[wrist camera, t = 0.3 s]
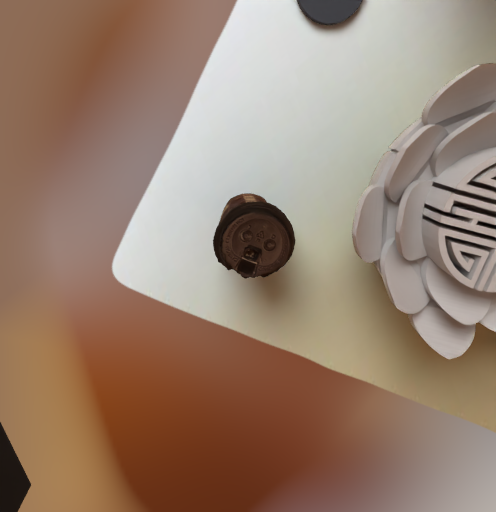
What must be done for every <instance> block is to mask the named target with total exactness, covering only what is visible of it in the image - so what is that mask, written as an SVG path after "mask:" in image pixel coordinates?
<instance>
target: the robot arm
mask: <svg viewBox="0 0 496 512" xmlns="http://www.w3.org/2000/svg"><path fill="white" fill-rule="evenodd" d="M30 486H31V483H30V481H29V479H28V478H27V475H26V473H25V471H24V469H23V467H22V465H21V463H20V461H19V459H18V457H17V455H16V453H15V451H14V449H13V447H12V445H11V443H10V441H9V439H8V437H7V435H6V433H5V431H4V429H3V427H2V425H1V423H0V512H18V510H19V508H20V506H21V504H22V502H23V500H24V498H25V496H26V494H27V492H28V490H29V488H30Z"/></svg>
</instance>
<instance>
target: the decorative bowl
mask: <svg viewBox="0 0 496 512" xmlns="http://www.w3.org/2000/svg"><path fill="white" fill-rule="evenodd" d="M389 148H390V149H391V150H392V151H391V152H390V151H388V152H386V153H385V154H384V155H383V156H382V158H381V160H380V161H379V163H378V165H377V167H376V169H375V171H374V173H373V175H372V178H371V181H370V183H369V186H368V187H367V188H366V189H365V191H364V192H363V193H362V195H361V197H360V200H359V202H358V205H357V208H356V212H355V217H354V222H353V228H352V238H353V244H354V247H355V250H356V252H357V254H358V256H360V257H361V258H362V259H363V260H364V261H365V262H367V263H371V262H374V264H375V266H376V268H377V270H378V272H379V273H380V275H381V276H382V278H383V282H384V284H385V287H386V290H387V293H388V295H389V297H390V300H391V302H392V303H393V304H394V305H395V306H396V308H398V309H399V310H400V311H402V312H405V313H408V317H409V320H410V322H411V324H412V326H413V327H414V329H415V330H416V331H417V333H418V334H419V335H420V336H421V337H422V338H423V339H424V340H425V342H426V343H427V344H428V345H429V346H431V347H432V348H433V349H434V350H435V351H436V352H438V353H439V354H440V355H442V356H444V357H445V358H447V359H452V358H456V357H459V356H461V355H462V354H463V353H464V352H465V351H466V350H467V349H468V348H469V346H470V345H471V343H472V341H473V339H474V335H475V323H478V322H480V323H481V324H482V325H484V326H485V327H487V328H488V329H491V330H493V331H495V332H496V64H493V63H489V64H481V65H475V66H472V67H471V68H469V69H467V70H466V71H464V72H463V73H461V74H460V75H458V76H457V77H455V78H454V79H452V80H451V81H450V82H448V83H447V84H446V85H444V86H443V87H442V88H441V89H440V90H439V91H438V92H437V93H435V94H434V95H433V97H432V98H431V99H430V100H429V101H428V103H427V104H426V106H425V108H424V110H423V113H422V117H421V118H419V119H418V120H416V121H415V122H414V123H413V124H411V125H410V126H409V127H408V128H407V129H405V130H404V131H403V132H402V133H401V134H400V135H399V136H398V137H397V138H396V139H395V141H394V142H393V143H392V144H391V145H390V146H389Z"/></svg>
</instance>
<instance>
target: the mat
mask: <svg viewBox="0 0 496 512" xmlns="http://www.w3.org/2000/svg"><path fill="white" fill-rule="evenodd" d="M297 2H298V4H299V6H300V8H301V10H302V11H303V13H304V14H305V15H306V16H307V17H308V18H309V19H311V20H312V21H314V22H316V23H319V24H323V25H333V24H337V23H340V22H342V21H344V20H346V19H347V18H349V17H350V16H351V15H352V14H353V13H354V12H355V11H356V10H357V9H358V7H359V6H360V4H361V2H362V0H297Z"/></svg>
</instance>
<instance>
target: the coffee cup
mask: <svg viewBox="0 0 496 512" xmlns="http://www.w3.org/2000/svg"><path fill="white" fill-rule="evenodd" d="M213 244H214V245H213V246H214V251H215V255H216V257H217V258H218V262H219V263H222V265H223V266H225V267H226V268H227V269H228V270H230V269H234V270H235V271H236V272H237V273H238V274H241V276H242V277H244V278H249V277H252V278H255V277H258V276H261V277H266V276H268V275H270V274H272V273H274V272H277V271H278V270H279V269H280V268H282V267H283V266H284V265H285V264H286V263H287V261H288V260H289V259H290V257H291V255H292V253H293V250H294V245H295V237H294V231H293V227H292V225H291V223H290V221H289V220H288V219H287V217H286V215H285V214H284V213H283V212H282V211H281V210H279V209H278V208H277V207H276V206H274V205H272V204H270V203H267V202H266V200H265V199H264V198H262V197H261V196H258V195H255V194H241V195H238V196H235V197H233V198H231V199H230V200H229V201H228V203H227V205H226V206H225V208H224V210H223V213H222V216H221V220H220V222H219V225H218V226H217V228H216V232H215V235H214V240H213Z"/></svg>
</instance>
